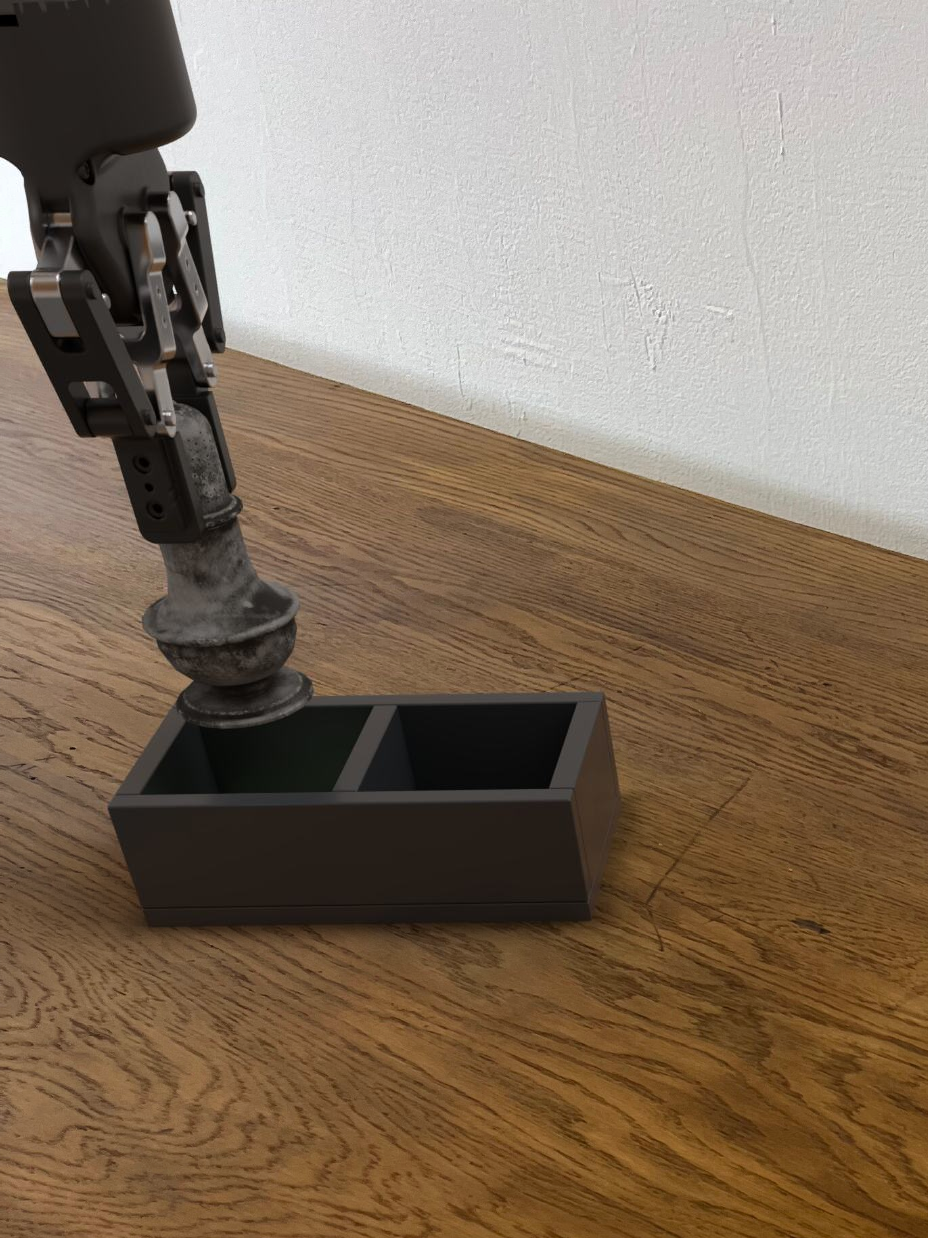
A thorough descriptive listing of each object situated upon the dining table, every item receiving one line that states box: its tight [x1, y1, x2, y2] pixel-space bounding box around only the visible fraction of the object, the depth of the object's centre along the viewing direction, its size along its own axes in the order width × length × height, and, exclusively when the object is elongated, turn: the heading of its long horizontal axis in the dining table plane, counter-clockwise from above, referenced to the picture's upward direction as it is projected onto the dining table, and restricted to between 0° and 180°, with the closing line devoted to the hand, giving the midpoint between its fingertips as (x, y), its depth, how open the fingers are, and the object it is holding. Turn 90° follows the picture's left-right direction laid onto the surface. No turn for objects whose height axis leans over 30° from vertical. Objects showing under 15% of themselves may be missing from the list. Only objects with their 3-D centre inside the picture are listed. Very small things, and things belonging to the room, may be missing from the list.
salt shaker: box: [141, 400, 315, 729], centre depth 78 cm, size 6×6×12 cm
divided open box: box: [106, 691, 624, 928], centre depth 85 cm, size 10×18×6 cm, turn 90°
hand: (191, 515), depth 77 cm, fingers closed on salt shaker, 3 cm apart
